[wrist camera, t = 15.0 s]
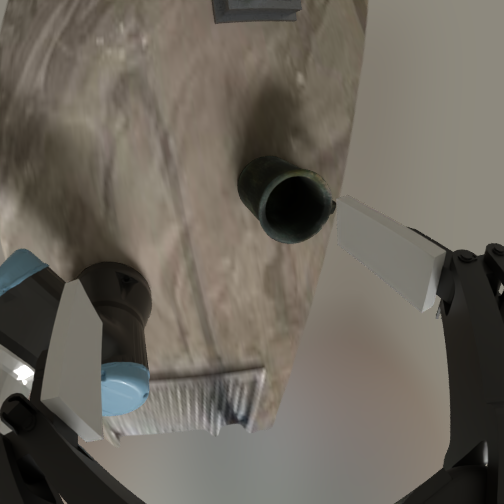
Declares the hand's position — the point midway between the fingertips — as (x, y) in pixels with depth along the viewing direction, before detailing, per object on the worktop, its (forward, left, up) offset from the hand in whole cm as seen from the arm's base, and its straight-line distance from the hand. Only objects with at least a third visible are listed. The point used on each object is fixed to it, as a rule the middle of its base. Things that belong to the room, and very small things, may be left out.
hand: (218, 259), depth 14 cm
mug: (+16, -10, -35) cm, 40 cm away
